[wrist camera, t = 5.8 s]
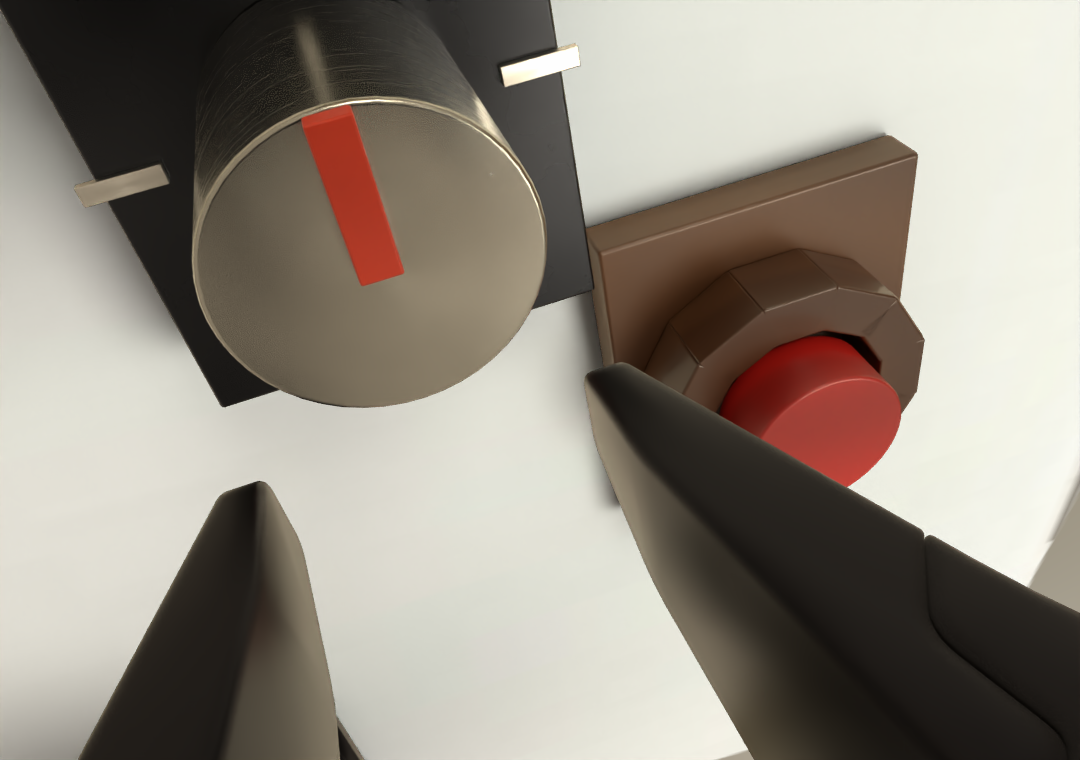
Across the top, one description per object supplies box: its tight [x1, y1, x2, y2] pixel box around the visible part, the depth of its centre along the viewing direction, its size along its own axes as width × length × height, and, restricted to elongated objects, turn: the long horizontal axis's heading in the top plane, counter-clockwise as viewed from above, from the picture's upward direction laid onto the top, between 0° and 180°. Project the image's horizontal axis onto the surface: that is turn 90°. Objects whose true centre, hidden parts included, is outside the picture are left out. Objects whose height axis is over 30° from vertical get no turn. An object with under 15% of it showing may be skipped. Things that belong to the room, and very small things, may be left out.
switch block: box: [586, 135, 925, 415], centre depth 23 cm, size 10×8×3 cm
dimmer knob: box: [192, 0, 547, 408], centre depth 13 cm, size 4×4×5 cm
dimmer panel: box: [0, 0, 595, 407], centre depth 16 cm, size 10×9×3 cm
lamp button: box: [719, 336, 901, 487], centre depth 21 cm, size 4×4×2 cm
